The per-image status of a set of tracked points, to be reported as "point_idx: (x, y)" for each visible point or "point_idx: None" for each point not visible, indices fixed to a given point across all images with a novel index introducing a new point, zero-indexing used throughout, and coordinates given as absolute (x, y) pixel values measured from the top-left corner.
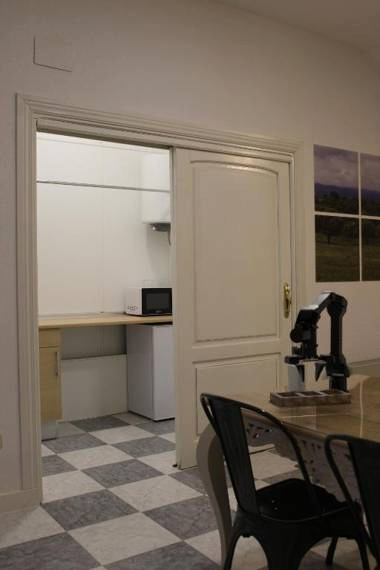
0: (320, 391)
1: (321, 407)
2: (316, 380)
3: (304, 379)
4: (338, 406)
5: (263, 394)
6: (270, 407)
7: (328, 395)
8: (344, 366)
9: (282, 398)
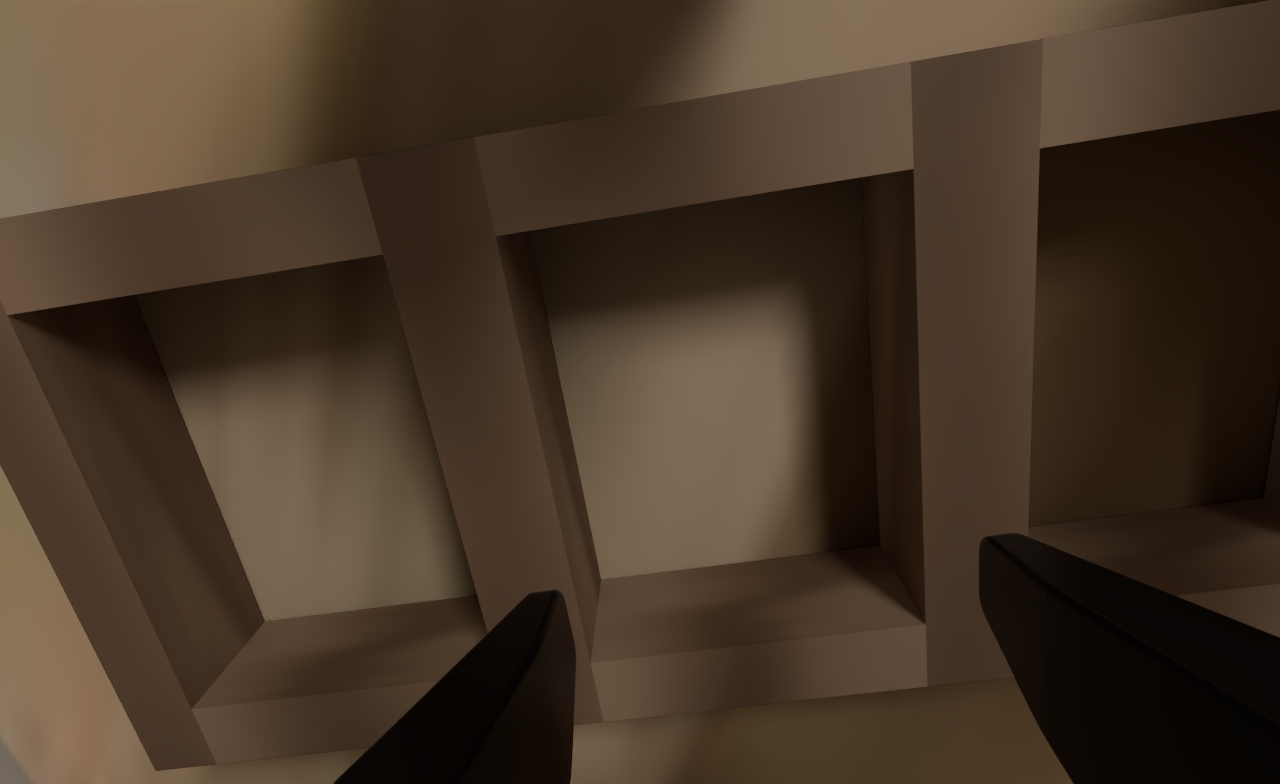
0: (1091, 135)
1: (740, 778)
2: (991, 629)
3: (572, 739)
4: (981, 755)
5: None
6: (85, 709)
7: (994, 670)
8: None
9: (174, 763)
